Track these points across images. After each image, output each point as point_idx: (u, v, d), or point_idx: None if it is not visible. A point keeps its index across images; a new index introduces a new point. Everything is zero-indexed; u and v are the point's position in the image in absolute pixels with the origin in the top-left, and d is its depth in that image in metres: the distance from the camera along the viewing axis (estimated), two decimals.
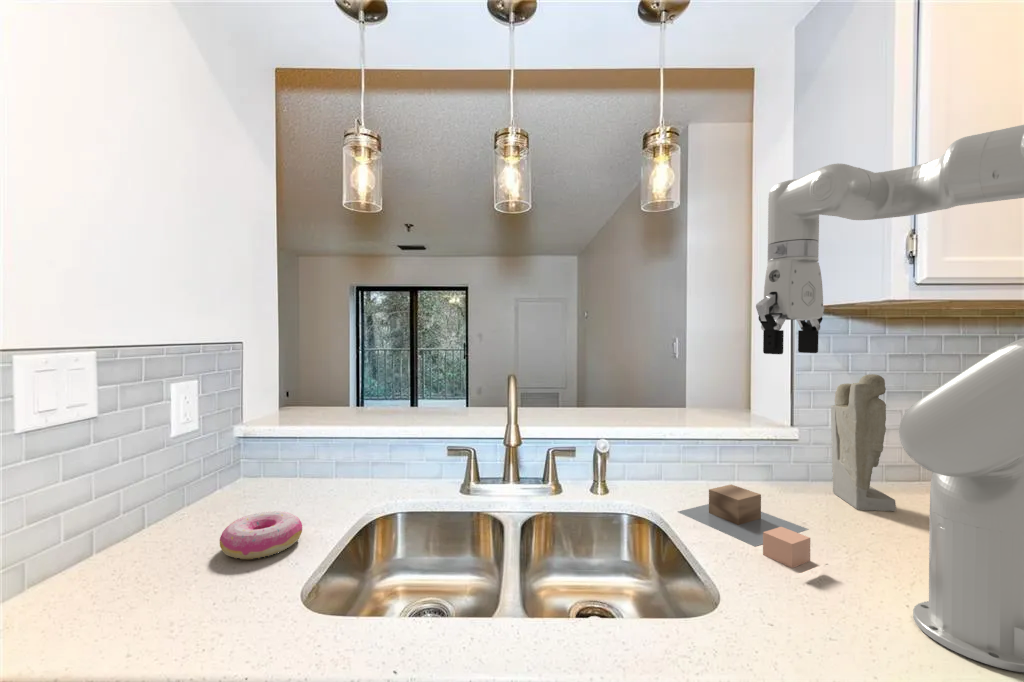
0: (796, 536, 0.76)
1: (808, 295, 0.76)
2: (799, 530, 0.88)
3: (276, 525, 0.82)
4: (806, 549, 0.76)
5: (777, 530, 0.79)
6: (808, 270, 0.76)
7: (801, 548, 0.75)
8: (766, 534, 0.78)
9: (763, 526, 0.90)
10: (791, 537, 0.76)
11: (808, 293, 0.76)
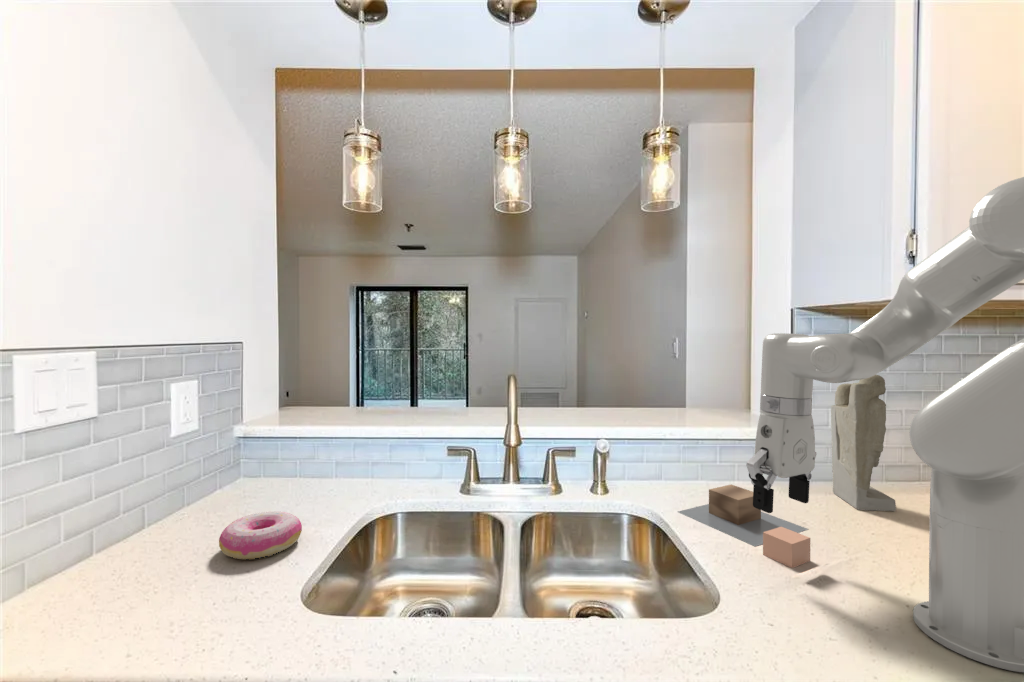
0: (796, 536, 0.76)
1: (800, 452, 0.75)
2: (799, 530, 0.88)
3: (275, 525, 0.82)
4: (806, 549, 0.76)
5: (777, 530, 0.79)
6: (801, 427, 0.75)
7: (801, 548, 0.75)
8: (766, 534, 0.78)
9: (763, 526, 0.90)
10: (791, 537, 0.76)
11: (799, 451, 0.75)
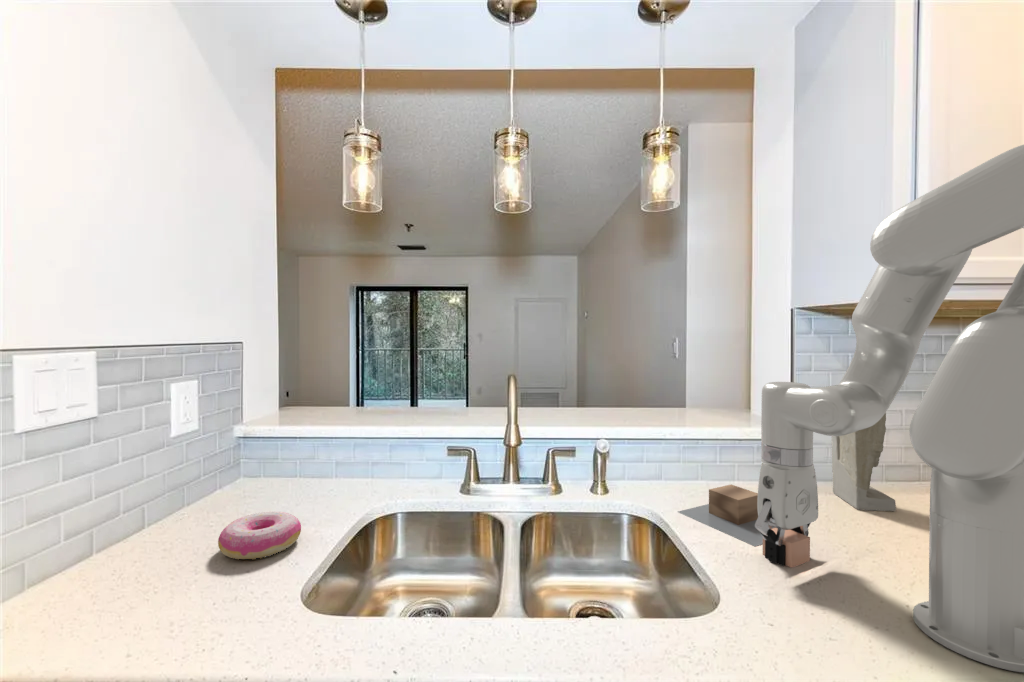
0: (795, 536, 0.76)
1: (803, 503, 0.75)
2: None
3: (275, 525, 0.82)
4: (806, 549, 0.76)
5: (777, 529, 0.79)
6: (803, 477, 0.75)
7: (801, 547, 0.75)
8: None
9: None
10: (790, 536, 0.76)
11: (802, 501, 0.74)
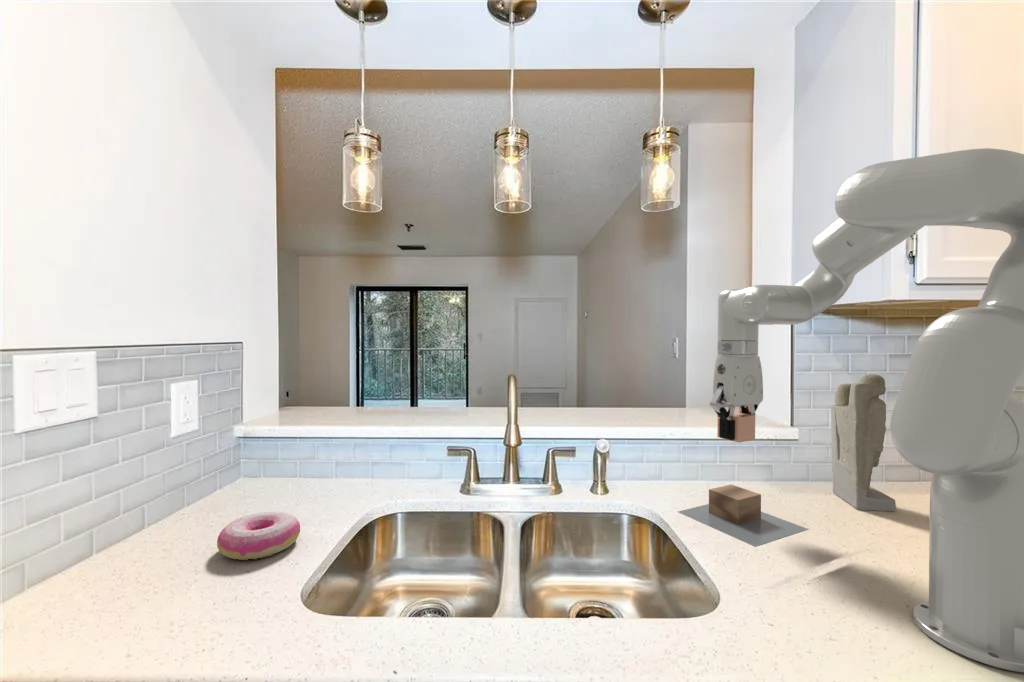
0: (744, 415, 0.93)
1: (749, 386, 0.91)
2: (799, 530, 0.88)
3: (274, 526, 0.82)
4: (751, 424, 0.92)
5: None
6: (749, 365, 0.91)
7: (747, 422, 0.92)
8: None
9: (763, 526, 0.90)
10: (739, 415, 0.93)
11: (749, 384, 0.91)
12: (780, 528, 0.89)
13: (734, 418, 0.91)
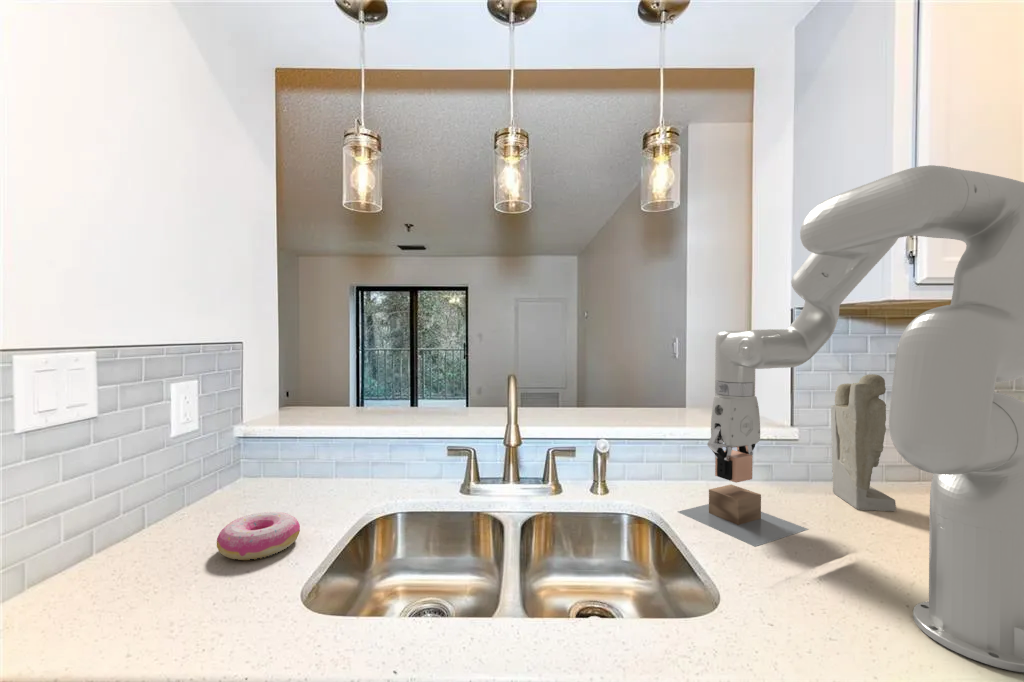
0: (741, 454, 0.94)
1: (746, 426, 0.92)
2: (799, 530, 0.88)
3: (273, 526, 0.82)
4: (749, 464, 0.94)
5: None
6: (746, 406, 0.92)
7: (745, 462, 0.93)
8: None
9: (763, 526, 0.90)
10: (737, 454, 0.94)
11: (746, 425, 0.92)
12: (780, 528, 0.89)
13: (731, 458, 0.93)
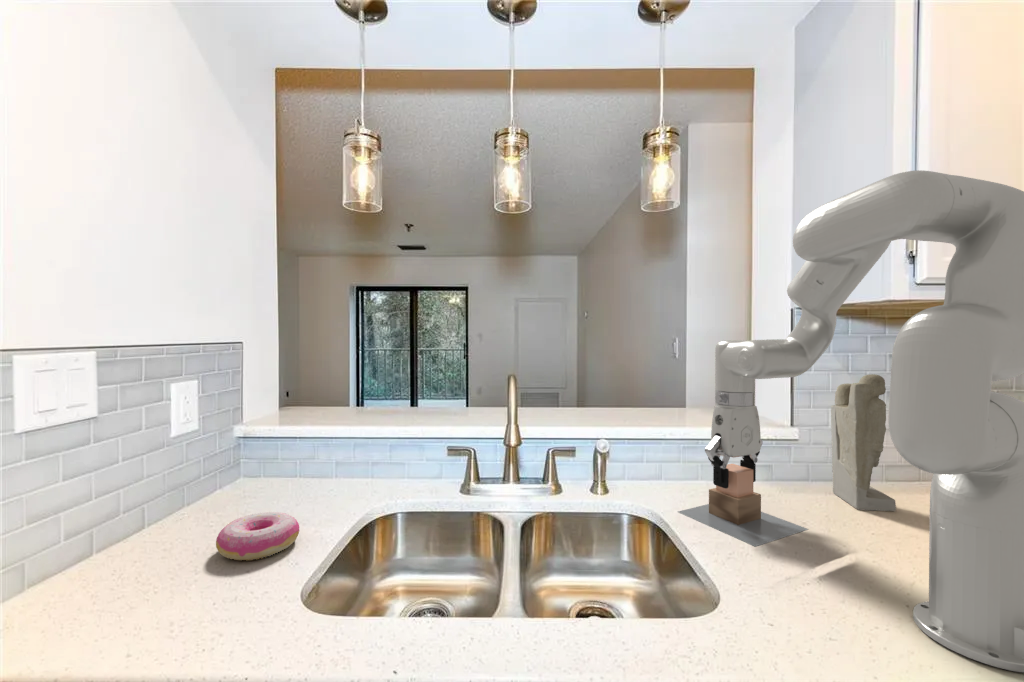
0: (742, 469, 0.94)
1: (746, 436, 0.92)
2: (799, 530, 0.88)
3: (273, 526, 0.82)
4: (750, 479, 0.93)
5: (728, 465, 0.97)
6: (746, 416, 0.92)
7: (745, 477, 0.93)
8: None
9: (763, 526, 0.90)
10: (738, 469, 0.94)
11: (746, 435, 0.92)
12: (780, 528, 0.89)
13: (732, 473, 0.92)
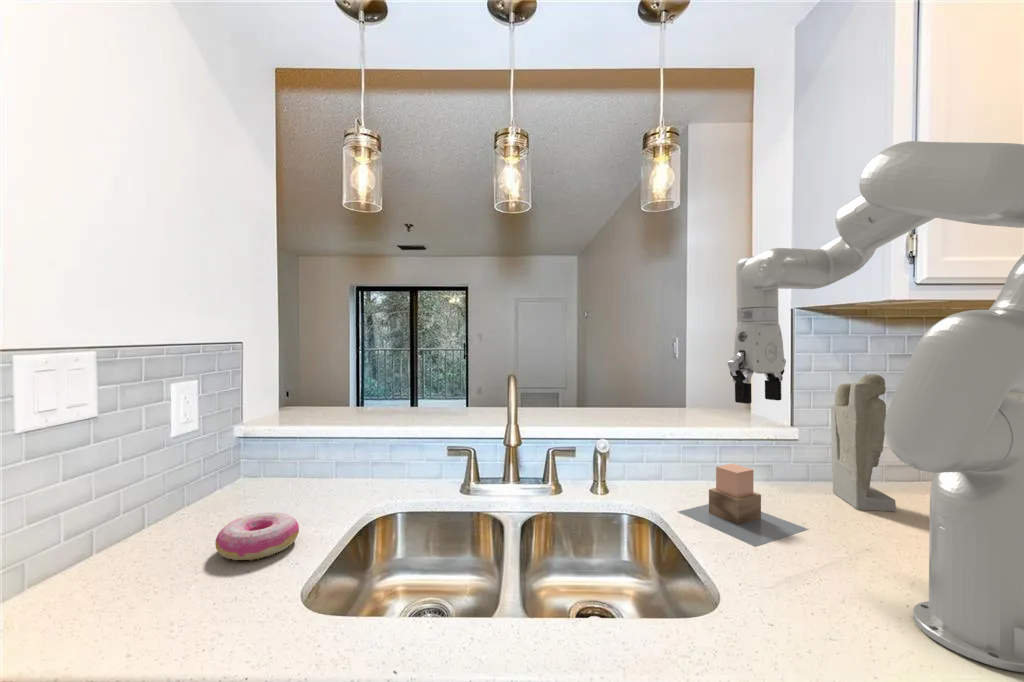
0: (742, 469, 0.94)
1: (771, 353, 0.90)
2: (799, 530, 0.88)
3: (272, 526, 0.82)
4: (750, 479, 0.93)
5: (728, 465, 0.97)
6: (770, 332, 0.90)
7: (745, 477, 0.93)
8: (718, 468, 0.95)
9: (763, 526, 0.90)
10: (738, 469, 0.94)
11: (770, 352, 0.90)
12: (780, 528, 0.89)
13: (732, 473, 0.92)
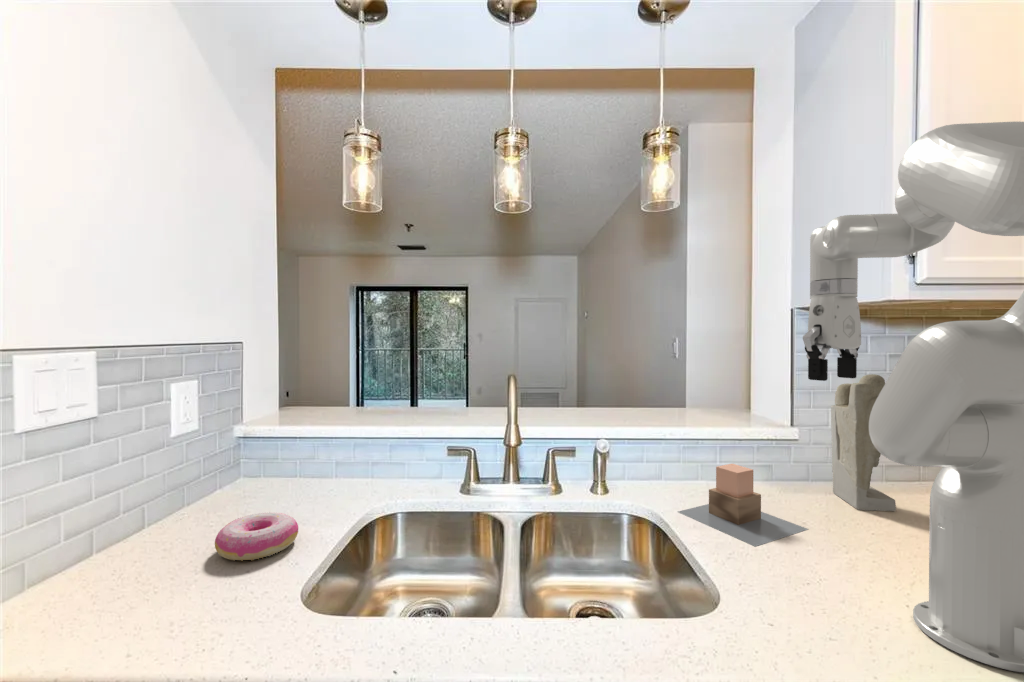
0: (742, 469, 0.94)
1: (849, 327, 0.85)
2: (799, 530, 0.88)
3: (272, 526, 0.82)
4: (750, 479, 0.93)
5: (728, 465, 0.97)
6: (848, 305, 0.85)
7: (745, 477, 0.93)
8: (718, 468, 0.95)
9: (763, 526, 0.90)
10: (738, 469, 0.94)
11: (848, 326, 0.85)
12: (780, 528, 0.89)
13: (732, 473, 0.92)
